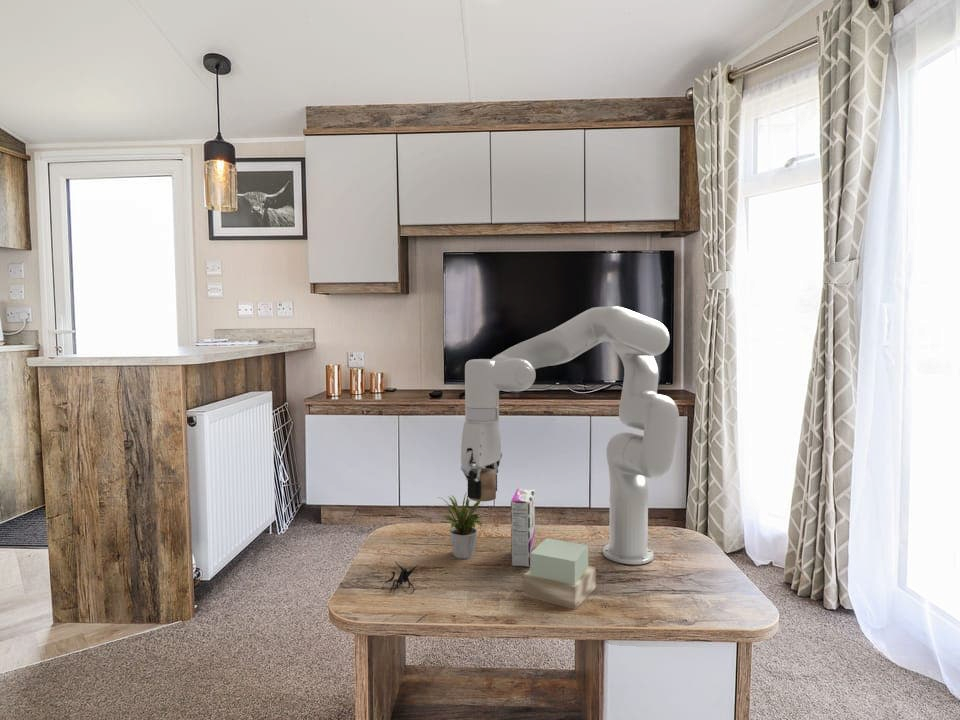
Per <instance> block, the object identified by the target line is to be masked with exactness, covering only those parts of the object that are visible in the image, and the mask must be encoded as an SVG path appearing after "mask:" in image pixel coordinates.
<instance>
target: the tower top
mask: <svg viewBox="0 0 960 720" xmlns="http://www.w3.org/2000/svg"><path fill="white" fill-rule="evenodd" d="M588 566H589V545H588V544H581V543H575V542H570V541H565V540H558V539H552V538H548V537H547V538H545V539H543V541H542V542H540V544H538V546H537V545H536V546H535V549H534V550H533V551H532V552H531V553H530V567H529V570H530V576H535V577H539V578H544V579H549V580H554V581H559V582H564V583H568V584H573V585H575V584H576V582H577V581H578V580H579V579H580V577H581V576H582V575H583V573H584V572H585V571H586V570H587V568H588Z"/></svg>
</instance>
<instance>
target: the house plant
mask: <svg viewBox="0 0 960 720" xmlns="http://www.w3.org/2000/svg"><path fill="white" fill-rule="evenodd" d="M467 494H468V491H467V492H466V493H465V494H464V497H463V501H462V508H461V509H459V506H458V502H457V499H456V497H455V496H453V495H452V494H450V496H449V497H448V499H449V500H450V502H451V504H449V503H448V501H446V500H445V499H444V498H442V497H439V496H437V499H441V500H443V501H444V502H445V503H446V505H447V506H448V507H449V508H447V507H445V509H446V510H447V511H448V512H449V514H450V515H451V516H450V515H449V514H444V515H443V516H442V517H441V518H443V519H444V523H445V522H447V521H448V523H450V526H451V528H450V531H449V533H450V540H451V541H450V542H451V546H452V552H453V553H452V554H453V556H454V557H455V558H458V559H469V558H472V557H473V556H474V555H475V548H476V542H477V536H478V529H477V528H476V524H477V525H478V526H480V528H481V529H482V526H483V524H482V522H481V521H479V519H480V518H482V517H483V516H482V515H481V513H475V511H476V510H477V508H478V507H479V506H480V507H481V505H483V503H481V502H482V501H475V503H474V504H473V505H472V507H471V509H470V510H469V506H470V501H472V500H471V499H469V497H468V495H467ZM451 496H452V497H451ZM465 499H466V500H465ZM480 503H481V504H480ZM468 511H469V513H468Z"/></svg>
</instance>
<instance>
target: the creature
mask: <svg viewBox="0 0 960 720" xmlns="http://www.w3.org/2000/svg"><path fill="white" fill-rule="evenodd" d="M394 562H395V564H396V565H397V566H398V567H399V569H400V570H401V571H400V572H399V571H398V570H396V571H397V573H399V575H398V579H394V578H395V576H396V574H395V571H392V572H391V574H392V577H391V578H389V580H386V581H385V582H384V584H387V583H389V582H392V581H393V580H394V581H393V583H392V586H391V587H390V588H389V590H390V591H389V594H391V592H392V589H393V592H392V595H394V593H395V590H396V589H398V588H399V585H403V583H404V584H406V582H407V584H408V588H407V590H409V588H411V587H412V588H413V590H412V592H411V593H410V595H412V594H413V593H414V591H415V587H414V585H413V584H412V583H411V582H410V579H409V576H411V574H413V571H414V570H415V569H416V568H417V567H419V566H420V564H418V565H415V566H414V567H413V568H412V569H411V570H407V569H406V568H403V567H402V566H401V565H400V564H398V562H397V561H396V560H395V561H394ZM395 583H396V584H395ZM384 584H382V587H381V589H382V590H384ZM386 590H388V588H386ZM403 591H404V592H406V594H408V592H407V591H406V589H404V590H403Z"/></svg>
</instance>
